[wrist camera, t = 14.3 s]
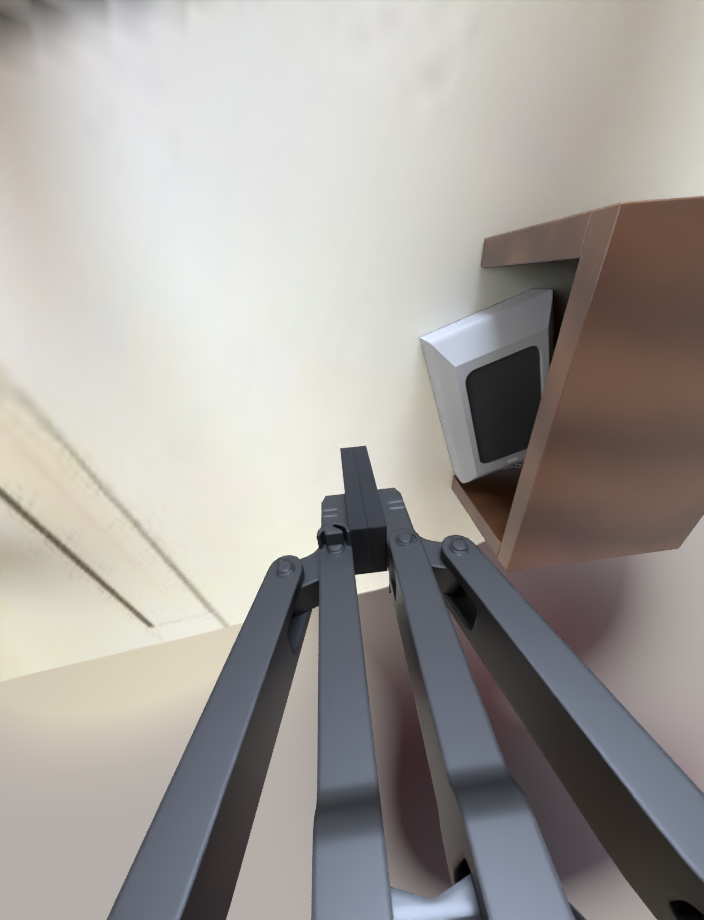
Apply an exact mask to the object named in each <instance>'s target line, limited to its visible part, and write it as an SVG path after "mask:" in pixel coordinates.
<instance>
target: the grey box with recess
mask: <svg viewBox="0 0 704 920" xmlns="http://www.w3.org/2000/svg"><path fill="white" fill-rule="evenodd" d="M420 341H421V345H422V349H423V353H424V357H425V361H426V365H427V369H428V373H429V377H430V381H431V385H432V389H433V393H434V397H435V401H436V404H437V408H438V412H439V416H440V420H441V424H442V428H443V432H444V436H445V440H446V444H447V448H448V452H449V456H450V460H451V464H452V468H453V472H454V473H455V474H456V476H457V477H458V479H459V480H460V481H461V482H462V483H467V482H470V481H472V480H475V479H478V478H480V477H483V476H486V475H489V474H491V473H494V472H497V471H499V470H502V469H505V468H508V467H510V466H513V465H516V464H518V463H521V462H524V459H525V456H526V452H527V449H528V445H529V441H530V438H531V434H532V430H533V427H534V423H535V419H536V416H537V412H538V409H539V405H540V401H541V398H542V394H543V390H544V387H545V383H546V379H547V376H548V372H549V369H550V365H551V361H552V358H553V354H554V332H553V290H552V289H530V290H528V291H525V292H523V293H521V294H518V295H516V296H514V297H512V298H509V299H507V300H505V301H502V302H500V303H498V304H495V305H493V306H491V307H489V308H486V309H484V310H482V311H479V312H477V313H475V314H472V315H470V316H468V317H466V318H463V319H461V320H459V321H456V322H454V323H452V324H449V325H447V326H445V327H442V328H440V329H438V330H436V331H433V332H431V333H429V334H426V335H424V336H422V337H420Z"/></svg>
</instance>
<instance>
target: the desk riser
mask: <svg viewBox="0 0 704 920" xmlns="http://www.w3.org/2000/svg"><path fill="white" fill-rule="evenodd" d="M574 259H579V263H578V267H577V270H576V274H575V278H574V281H573V285H572V288H571V292H570V296H569V299H568V303H567V307H566V310H565V314H564V318H563V321H562V325H561V329H560V332H559V336H558V339H557V343H556V347H555V350H554V354H553V358H552V361H551V365H550V369H549V372H548V376H547V379H546V383H545V387H544V390H543V394H542V398H541V401H540V405H539V409H538V412H537V416H536V419H535V423H534V427H533V430H532V434H531V438H530V441H529V445H528V449H527V452H526V456H525V459H524V463H523V467H522V468H514V469H506V470H499V471H497V472H494V473H491V474H489V475H486V476H483V477H480V478H478V479H475V480H472V481H470V482H467V483H462V482H461V481H460V480H459V479H458V477H457V476H453V482H452V490H453V491H454V493H455V494H456V496H457V497H458V499H459V501H460V502H461V504H462V505H463V507H464V508H465V510H466V511H467V513H468V514H469V516H470V517H471V519H472V520H473V522H474V523H475V525H476V527H477V528H478V530H479V531H480V533H481V534H482V536H483V537H484V539H485V540H486V542H487V543H488V545H489V546H490V548H491V550H492V551H493V553H494V554H495V555H496V557H497V558H498V560H499V561H500V563H501V564H502V566H503V567H504V569H505V571H506V572H512V571H520V570H526V569H534V568H541V567H549V566H556V565H563V564H570V563H577V562H585V561H592V560H599V559H607V558H613V557H620V556H628V555H635V554H642V553H650V552H657V551H664V550H672V549H678V548H679V547H680V546H681V544H682V543H683V542H684V540H685V539H686V538H687V536H688V535H689V534H690V532H691V531H692V530H693V528H694V527H695V526H696V524H697V523H698V522H699V520H700V519H701V517H702V516H703V515H704V196H696V197H683V198H670V199H657V200H645V201H632V202H621V203H617V204H613V205H610V206H606V207H602V208H598V209H595V210H591V211H587V212H583V213H579V214H576V215H572V216H568V217H564V218H561V219H557V220H553V221H549V222H545V223H542V224H538V225H534V226H530V227H527V228H523V229H519V230H515V231H512V232H508V233H504V234H500V235H496V236H493V237H489V238H485V239H484V246H483V254H482V261H481V267H494V266H505V265H517V264H528V263H540V262H551V261H563V260H574Z"/></svg>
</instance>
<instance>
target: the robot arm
mask: <svg viewBox="0 0 704 920" xmlns="http://www.w3.org/2000/svg"><path fill="white" fill-rule="evenodd" d="M340 450H341V459H342V469H343V478H344V488H345V494H340V495H331V496H325V498H324V500H323V502H322V520H321V528H320V529H319V530H318V533H317V540H318V545H319V548H318V549H317V550H316V551H315V552H314V553H313V554H311V555H309V556H307V557H305V558H302V559H299V558H298V557H296V556H292V555H288V556H283V557H280V558H278V559H277V560H275V561H274V562H273V563H272V564H271V566H270V567H269V569H268V571H267V574H266V576H265V578H264V580H263V582H262V584H261V587H260V589H259V591H258V593H257V595H256V597H255V600H254V602H253V604H252V606H251V608H250V610H249V613H248V615H247V617H246V619H245V621H244V623H243V626H242V628H241V630H240V632H239V634H238V636H237V639H236V641H235V643H234V645H233V647H232V649H231V652H230V654H229V656H228V658H227V660H226V663H225V665H224V667H223V669H222V671H221V673H220V676H219V678H218V680H217V682H216V684H215V686H214V689H213V691H212V693H211V695H210V697H209V700H208V702H207V704H206V706H205V708H204V710H203V713H202V714H201V717H200V719H199V721H198V723H197V725H196V728H195V730H194V732H193V734H192V736H191V738H190V741H189V743H188V745H187V747H186V749H185V751H184V754H183V756H182V758H181V760H180V762H179V764H178V767H177V769H176V771H175V773H174V776H173V777H172V779H171V782H170V784H169V786H168V788H167V791H166V792H165V795H164V797H163V799H162V801H161V803H160V806H159V808H158V810H157V812H156V814H155V816H154V818H153V821H152V823H151V825H150V827H149V829H148V831H147V834H146V836H145V838H144V840H143V842H142V845H141V847H140V849H139V851H138V853H137V855H136V857H135V860H134V862H133V864H132V866H131V868H130V870H129V873H128V875H127V877H126V879H125V881H124V883H123V886H122V888H121V890H120V892H119V894H118V896H117V899H116V901H115V903H114V905H113V907H112V910H111V912H110V914H109V916H108V918H107V920H226V917H227V914H228V910H229V908H230V904H231V901H232V897H233V894H234V890H235V886H236V883H237V879H238V876H239V872H240V868H241V864H242V861H243V857H244V854H245V850H246V847H247V843H248V839H249V836H250V832H251V828H252V825H253V821H254V818H255V814H256V810H257V807H258V803H259V799H260V796H261V792H262V789H263V785H264V781H265V778H266V774H267V771H268V767H269V764H270V760H271V756H272V753H273V749H274V745H275V742H276V738H277V734H278V731H279V727H280V724H281V720H282V717H283V713H284V709H285V706H286V702H287V699H288V695H289V691H290V688H291V684H292V680H293V677H294V673H295V669H296V666H297V662H298V659H299V655H300V652H301V648H302V644H303V641H304V637H305V633H306V630H307V626H308V623H309V619H310V615H311V612H312V608H315V607H317V606H319V660H318V664H319V665H318V770H317V771H318V773H317V805H316V810H315V817H314V827H313V859H312V917H311V919H312V920H586V919H585V918H584V917H583V916H582V914H581V913H580V912H579V911H578V910H577V909H576V908H575V907H574V906H572V904H570V903H569V901H568V900H567V897H566V895H565V892H564V889H563V887H562V884H561V882H560V879H559V877H558V874H557V872H556V869H555V867H554V864H553V862H552V859H551V857H550V854H549V851H548V849H547V846H546V844H545V841H544V839H543V836H542V834H541V831H540V828H539V826H538V823H537V821H536V819H535V816H534V813H533V811H532V809H531V806H530V804H529V802H528V800H527V798H526V796H525V794H524V792H523V790H522V789H521V787H520V786H519V784H518V783H517V782H516V781H515V780H514V778H513V777H512V776H511V774H510V772H509V770H508V768H507V766H506V763H505V761H504V758H503V755H502V753H501V750H500V748H499V745H498V742H497V740H496V737H495V734H494V732H493V729H492V726H491V724H490V721H489V718H488V716H487V713H486V711H485V708H484V705H483V702H482V700H481V697H480V694H479V692H478V689H477V686H476V684H475V681H474V679H473V676H472V673H471V670H470V668H469V665H468V663H467V660H466V657H465V655H464V652H463V649H462V647H461V644H460V641H459V638H458V636H457V633H456V630H455V628H454V625H453V622H452V620H451V617H450V615H449V612H448V609H449V611H450V612H451V614H452V615H453V617H454V618H455V620H456V622H457V623H458V625H459V626H460V628H461V629H462V630H463V632H464V634H465V635H466V637H467V638H468V640H469V641H470V643H471V644H472V646H473V648H474V649H475V651H476V652H477V654H478V655H479V657H480V658H481V660H482V661H483V663H484V665H485V666H486V667H487V669H488V670H489V672H490V674H491V675H492V677H493V678H494V680H495V681H496V683H497V684H498V686H499V687H500V689H501V691H502V692H503V694H504V695H505V697H506V698H507V700H508V701H509V703H510V704H511V706H512V707H513V709H514V711H515V712H516V714H517V715H518V717H519V718H520V720H521V721H522V723H523V724H524V726H525V727H526V729H527V731H528V732H529V734H530V735H531V737H532V738H533V740H534V741H535V743H536V744H537V746H538V747H539V749H540V750H541V752H542V754H543V755H544V757H545V758H546V760H547V761H548V763H549V764H550V766H551V767H552V769H553V770H554V772H555V774H556V775H557V777H558V778H559V780H560V781H561V783H562V784H563V786H564V787H565V789H566V790H567V792H568V793H569V795H570V796H571V798H572V799H573V801H574V803H575V804H576V806H577V807H578V809H579V810H580V812H581V813H582V815H583V816H584V818H585V820H586V821H587V822H588V824H589V826H590V827H591V829H592V830H593V832H594V833H595V835H596V836H597V838H598V840H599V841H600V842H601V844H602V846H603V847H604V848H605V850H606V851H607V853H608V854H609V856H610V857H611V859H612V860H613V861H614V863H615V864H616V866H617V867H618V869H619V870H620V872H621V873H622V874H623V876H624V877H625V879H626V880H627V881H628V883H629V884H630V885H631V887H632V888H633V889H634V890H635V892H636V893H637V894H638V896H639V897H640V898H641V899H642V901H643V902H644V903H645V905H646V906H647V907H648V908H649V909H650V911H651V912H652V914H653V915H654V916H655V917H656V919H657V920H704V793H703V792H702V791H701V790H700V789H699V788H698V787H697V786H696V785H695V784H694V783H693V781H692V780H691V779H690V778H689V777H688V776H687V775H686V774H685V773H684V772H683V770H682V769H681V768H680V767H679V766H678V765H677V764H676V763H675V762H674V761H673V760H672V758H671V757H670V756H669V755H668V754H667V753H666V752H665V751H664V750H663V749H662V748H661V747H660V745H659V744H658V743H657V742H656V741H655V740H654V739H653V738H652V737H651V736H650V735H649V733H648V732H647V731H646V730H644V728H643V727H642V726H641V725H640V724H639V723H638V722H637V720H635V718H634V717H633V716H632V715H631V714H630V713H629V712H628V711H627V710H626V708H625V707H624V706H623V705H622V704H621V703H620V702H619V701H618V700H617V699H616V697H615V696H614V695H613V694H612V693H611V692H610V691H609V690H608V689H607V688H606V687H605V686H604V685H603V683H602V682H601V681H600V680H599V679H598V678H597V677H596V676H595V675H594V674H593V672H592V671H591V670H590V669H589V668H588V667H587V666H586V665H585V664H584V663H583V662H582V660H580V658H579V657H578V656H577V655H576V654H575V653H574V652H573V651H572V650H571V649H570V647H569V646H568V645H567V644H566V643H565V642H564V641H563V640H562V639H561V638H560V637H559V636H558V634H557V633H556V632H555V631H554V630H553V629H552V628H551V627H550V626H549V625H548V623H547V622H546V621H545V620H544V619H543V618H542V617H541V616H540V615H539V614H538V613H537V611H535V609H534V608H533V607H532V606H531V605H530V604H529V603H528V602H527V601H526V600H525V599H524V597H523V596H522V595H521V594H520V593H519V592H518V591H517V590H516V589H515V588H514V586H513V585H512V584H511V583H510V582H509V581H508V580H507V579H506V578H505V577H504V576H503V574H502V573H501V572H500V571H499V570H498V569H497V568H496V567H495V566H494V565H493V564H492V563H491V562H490V560H489V559H488V558H487V557H486V556H485V555H484V554H483V553H482V552H481V551H480V549H479V548H478V547H477V546H476V545H475V544H474V543H473V542H472V541H471V540H469V539H468V538H466V537H463V536H459V535H452V536H448V537H446V538H444V540H443V541H442V542H436V541H430V540H426V539H424V538H422V537H420V536H419V535H418V533H416V532H415V531H414V529H413V526H412V523H411V521H410V518H409V515H408V512H407V510H406V508H405V504H404V502H403V499H402V496H401V493H399V492H398V491H397V490H396V489H395V488H388V489H379V490H377V487H376V483H375V479H374V475H373V471H372V467H371V463H370V460H369V456H368V452H367V448H366V446H359V447H350V448H341V449H340ZM387 566H388V571H389V590H390V591H389V593H392V596H393V601H394V606H395V610H396V615H397V620H398V624H399V629H400V633H401V638H402V643H403V647H404V652H405V656H406V661H407V665H408V670H409V675H410V679H411V683H412V689H413V693H414V698H415V702H416V707H417V712H418V716H419V721H420V726H421V730H422V735H423V739H424V744H425V749H426V753H427V758H428V762H429V767H430V771H431V776H432V781H433V785H434V790H435V795H436V799H437V804H438V810H439V817H440V825H441V833H442V839H443V844H444V849H445V854H446V858H447V863H448V868H449V872H450V877H451V882H452V887H451V888H450V889H448V890H446V891H445V892H444V893H442V894H441V895H439V896H438V897H436V898H433V899H430V898H426V897H423V896H419V895H416V894H413V893H410V892H406V891H403V890H400V889H396V888H393V887H390V882H389V873H388V864H387V855H386V847H385V838H384V828H383V819H382V811H381V802H380V794H379V785H378V776H377V767H376V759H375V749H374V740H373V732H372V722H371V714H370V705H369V696H368V687H367V678H366V669H365V661H364V651H363V643H362V634H361V625H360V616H359V607H358V599H357V589H356V580H355V575H357V574H365V573H374V572H382V571H387ZM447 608H448V609H447Z"/></svg>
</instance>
